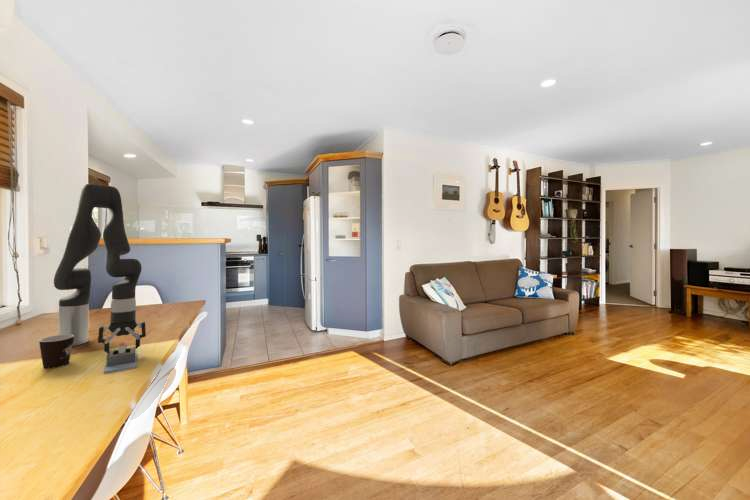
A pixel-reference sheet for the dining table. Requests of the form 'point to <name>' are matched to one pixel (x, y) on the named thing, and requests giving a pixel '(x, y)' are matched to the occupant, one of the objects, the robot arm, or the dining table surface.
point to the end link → (121, 356)
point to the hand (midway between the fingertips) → (122, 350)
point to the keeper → (121, 366)
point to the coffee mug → (56, 350)
